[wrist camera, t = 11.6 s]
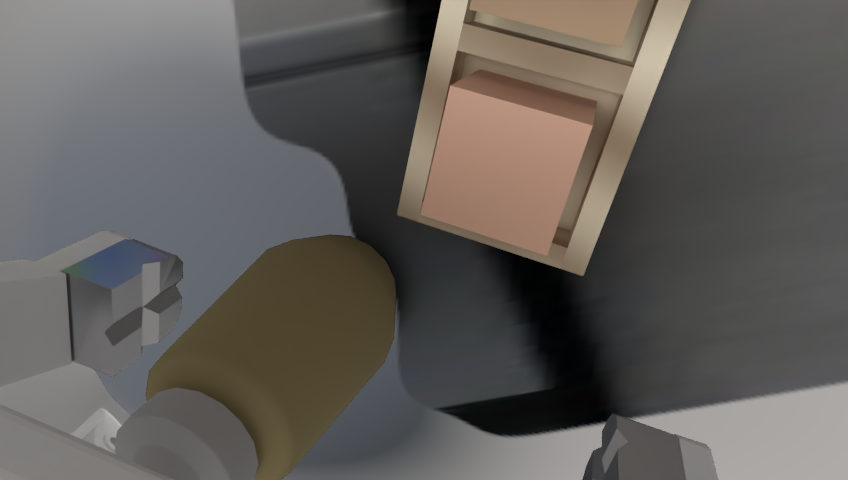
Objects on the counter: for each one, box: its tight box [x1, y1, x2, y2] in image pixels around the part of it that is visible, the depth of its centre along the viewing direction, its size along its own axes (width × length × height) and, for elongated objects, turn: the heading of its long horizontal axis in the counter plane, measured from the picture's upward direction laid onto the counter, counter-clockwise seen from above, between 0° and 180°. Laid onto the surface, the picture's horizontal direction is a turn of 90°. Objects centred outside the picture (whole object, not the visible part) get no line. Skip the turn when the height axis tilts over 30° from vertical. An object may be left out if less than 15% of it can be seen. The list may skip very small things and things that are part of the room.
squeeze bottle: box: [115, 235, 396, 480], centre depth 24 cm, size 8×8×18 cm
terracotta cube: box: [421, 69, 597, 256], centre depth 23 cm, size 5×5×5 cm
